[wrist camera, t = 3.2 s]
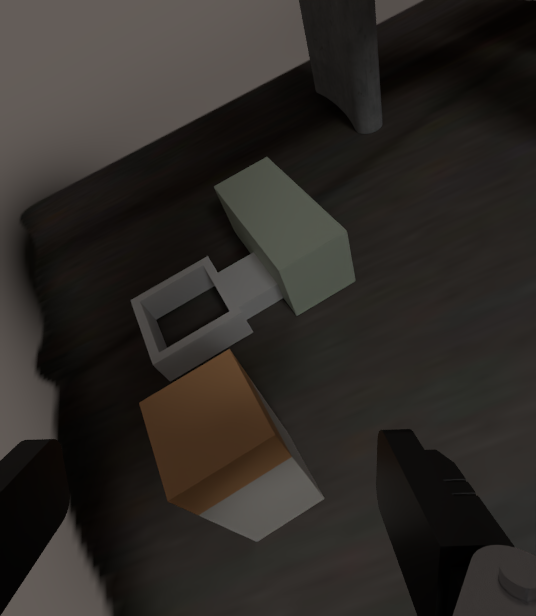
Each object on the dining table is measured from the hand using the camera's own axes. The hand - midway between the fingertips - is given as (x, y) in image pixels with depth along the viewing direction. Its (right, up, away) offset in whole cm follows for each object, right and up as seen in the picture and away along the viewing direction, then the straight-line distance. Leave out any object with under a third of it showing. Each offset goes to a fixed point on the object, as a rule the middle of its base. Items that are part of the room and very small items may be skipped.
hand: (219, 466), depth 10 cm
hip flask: (+12, +30, +42) cm, 53 cm away
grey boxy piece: (-2, +6, +29) cm, 30 cm away
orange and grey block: (+2, -8, +17) cm, 19 cm away
